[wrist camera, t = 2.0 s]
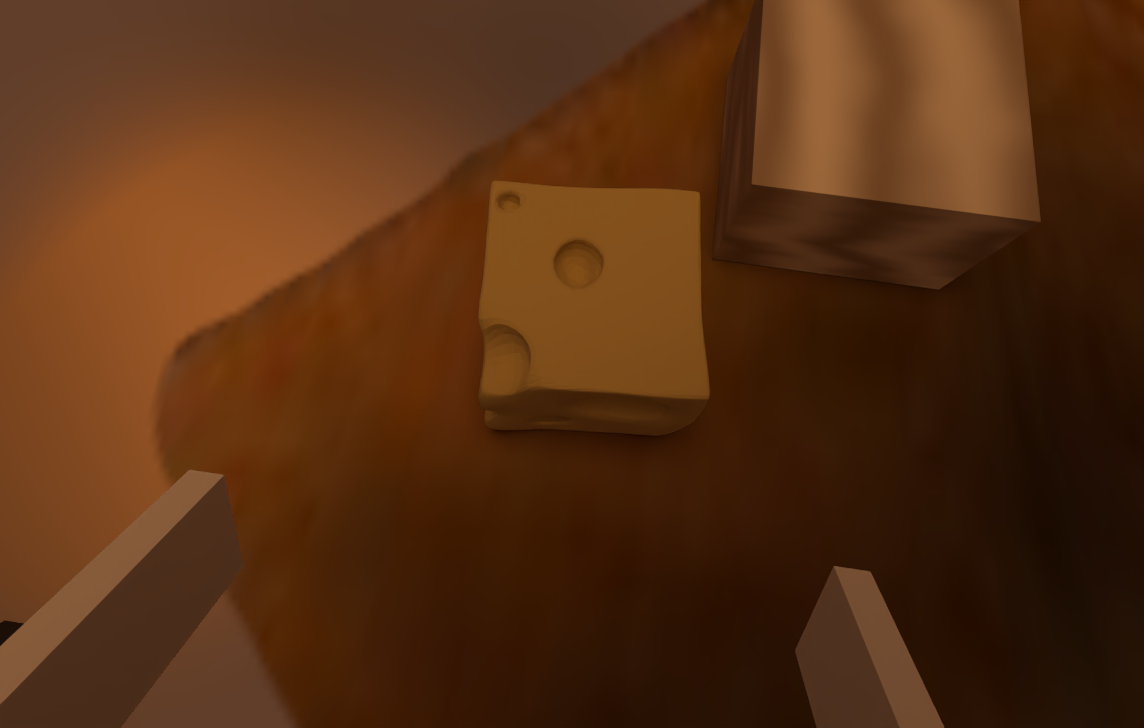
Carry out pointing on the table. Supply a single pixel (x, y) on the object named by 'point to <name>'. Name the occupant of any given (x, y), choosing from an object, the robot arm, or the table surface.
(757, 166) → the chevron patterned block
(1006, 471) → the table surface
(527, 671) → the table surface
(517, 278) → the cheese
